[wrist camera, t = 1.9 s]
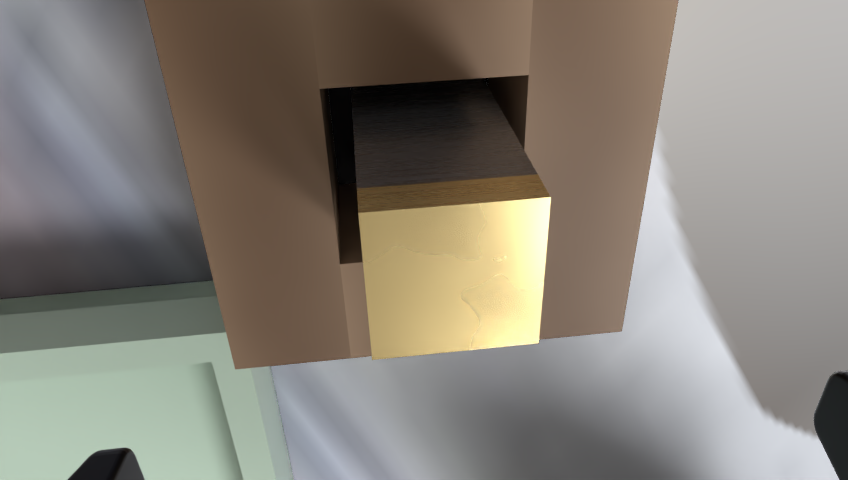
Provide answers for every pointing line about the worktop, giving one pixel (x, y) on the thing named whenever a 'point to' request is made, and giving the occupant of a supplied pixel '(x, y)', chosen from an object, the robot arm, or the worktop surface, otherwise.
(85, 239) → the worktop surface
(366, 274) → the pin
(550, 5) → the brown block with hole
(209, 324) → the tray
